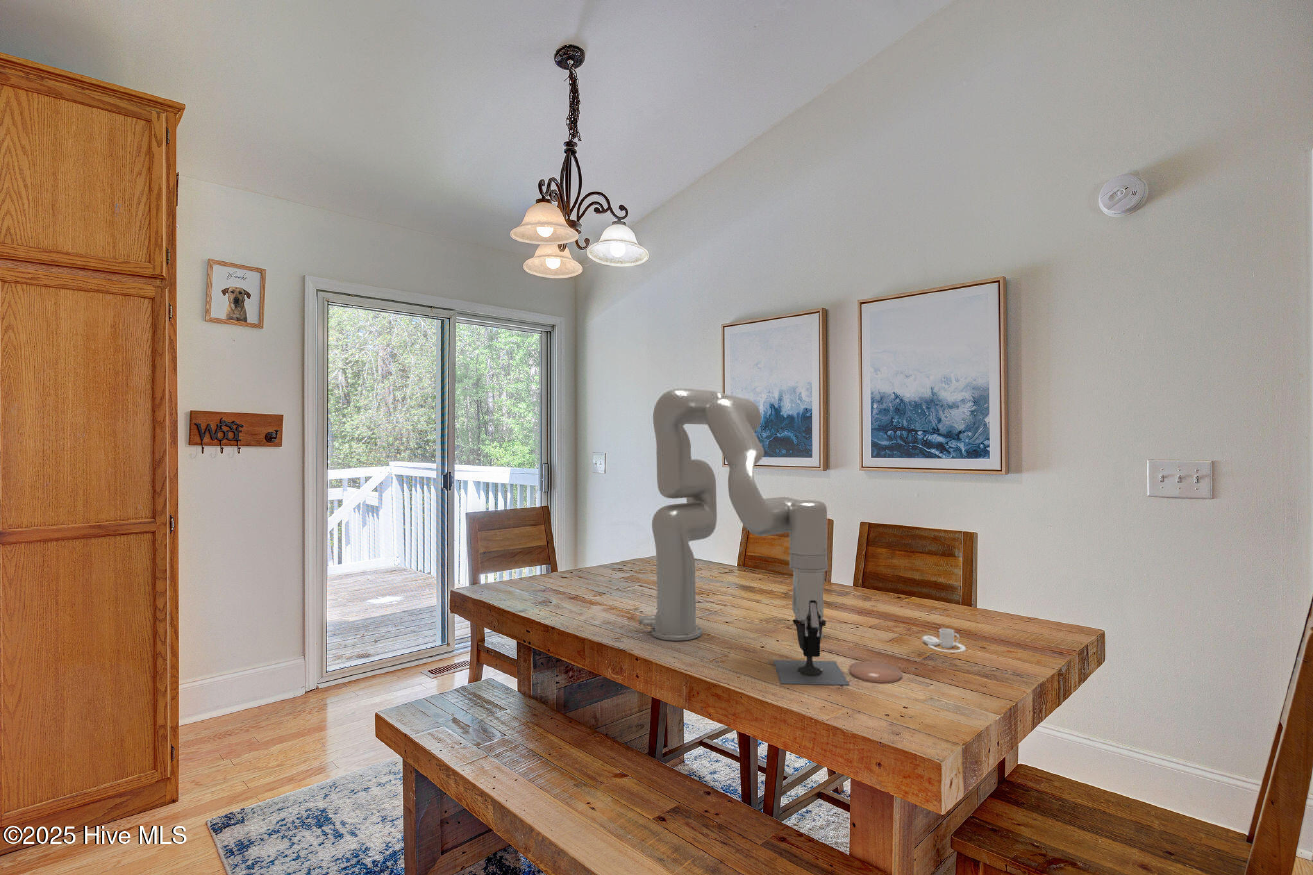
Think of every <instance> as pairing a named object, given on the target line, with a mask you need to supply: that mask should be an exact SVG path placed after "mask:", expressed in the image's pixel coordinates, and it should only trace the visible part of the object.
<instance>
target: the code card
mask: <svg viewBox="0 0 1313 875" xmlns="http://www.w3.org/2000/svg"><path fill="white" fill-rule="evenodd" d="M806 661H807V660H795V659H794V660H792V659H790V660H789V659H787V660H785V659H782V660H781V659H773V664H774V667H775V671H776V673H777V676H778V679H779V683H780V685H808V686H809V685H811V686H850V685H851V684H850V683H849V681H848V680H847V678H846V677H845V675H844V673H843V671H842V670H841V668H840V666H839V665H838V663H837V662H836V661H837V660H812V661H813V665H814V667H817V668H819V669H821V670H822V673H821V674H819V675H805V674H801V673H799V672H798V671H797V669H798V668H799V667H803V666H805V665H806Z"/></svg>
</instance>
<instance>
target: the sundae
mask: <svg viewBox="0 0 1313 875" xmlns="http://www.w3.org/2000/svg"><path fill="white" fill-rule="evenodd" d="M819 617H821V616H819ZM807 620H810V617H807ZM791 621H792V623H793V625H794V626H795V627H796V632H797V633H796V634H797V639H798V646H799V648H800V650H801V651H802V652H803V636H805V632H804V627H805V626H804V620H802V622H800V621H798V619H797V618H796V616H795V617H794V619H792V620H791ZM826 624H827V620H825V619H823V620H822V621H821V622H819V636H820V643H821V642H822V641H821V640H822V638H821V633H822V634H823V627H826ZM809 625H810V624H808V626H809ZM805 661H806V665H805V666H803V667H799V668H798V669H797V671H798V672H799V673H801V674H805V675H819V674H821V673H822V670H821V669H819V668H817V667H814V665H813V661H814V660H813V657H806V660H805Z"/></svg>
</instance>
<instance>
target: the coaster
mask: <svg viewBox="0 0 1313 875" xmlns="http://www.w3.org/2000/svg"><path fill="white" fill-rule="evenodd" d="M848 673H849V674H850V675H851V676H852V677H854V678H856V679H857V680H860V681H864V682H868V683H876V684H889V683H890V684H892V683H895V682H899V681H900V680H901V679H902V677H903V676H902V675H903V674H902V670H901V669H899V667H897V666H895V665H892V664H889V663H886V662H880V661H871V660H866V661H865V660H863V661H856V662H853V663H851V664H850V665H849V666H848Z"/></svg>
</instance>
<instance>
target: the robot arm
mask: <svg viewBox="0 0 1313 875" xmlns="http://www.w3.org/2000/svg"><path fill="white" fill-rule="evenodd" d="M654 405H655V406H654V409H653V415H652V421H653V422H652V423H653V429H654V430H653V431H654V435H655V442H656V483H657V488H658V491H659V493H660V495H661V496H663V497H664V498H665V499H666V498H667V499H675V500H676V499H685V498H686V499H685V501H686V502H685V503H684V502H681V503H674V504H667V505H664V506H662V507H660V508H659V509H657V510H656V512H655V513H654V515H653V517H652V521H651V529H652V534H653V539H654V546H655V559H656V612H655V614H651V615H650V616H649V615H638V616H639V617H638V623H639V625H642V626H645V627H648V626H651V628H650V634H651V636H652V637H654V638H656V639H659V640H663V641H674V642H675V641H676V642H678V641H690V640H693V639H696V638H699V637H701V635H703V628H702V627H701V626H700V625H699V624H697V619H696V618H697V617H696V616H697V615H696V613H697V610H696V608H697V607H696V606H697V604H696V603H697V602H696V596H697V595H696V591H697V590H696V559H695V555H694V552H693V550H692V548H691V546H690V543H689V542H693V541H700V540H704V539H707V538H708V537H710V536H711V535H712V534H713V533H714V532H715V530H716V527H717V522H718V521H717V520H718V514H717V513H718V512H717V511H718V510H717V508H718V507H717V506H718V505H717V504H718V503H717V482H716V481H717V480H716V475H715V472H714V469H713V468H712V467H711V465H710V464H709V463H708V462H706V461H704V460H702V459H697V458H694V459H692V450H691V449H692V445H691V444H692V443H691V440H690V437H689V436H690V435H689V434H688V432H687V430H686V429H685V427H684V426H685V425H707V426H708V428H709V431H710V432H711V435H712V436H713V438H714V440H715V442H716V444H717V445H718V447H719V450H720V451H721V453H722V455H723V457H724V459H725V461H726V464H727V465H728V467H729V468H728V469H729V470H728V471H729V472H728V479H727V486H728V487H727V488H728V490H727V491H728V496H729V500H730V503H731V504H732V507H733V509H734V510H735V513H736V514H737V517H738V519H739V520H740V522H741V523H742V525H743V526H744V528H745V529H746V530H747V531H748V532H749V533H751V534H752V535H755V536H757V537H758V536H759V537H763V536H764V537H765V536H769V535H770V536H771V535H776V534H783V533H784V534H785V533H789V534H788V535H789V538H788V540H789V548H788V549H789V569H790V570H792V571H793V573H792V574H793V576H792V601H791V602H792V613H793V614H794V616H795V617H796V618H797V619H798V621H800V622H802V620H804V626H805V627H804V632H805V636H803V651H802V653H803V656H804V657H806V658H807V657H812V658H813V657H814V658H818V657H819V658H820V655H821V642H820V636H819V622H821V621H822V620H824V586H823V576H822V572H823V571H825V572H826V571H828V570H829V569H828V568H829V567H828V565H829V564H828V563H829V562H828V509H827V505H826V504H825V503H824V502H823V501H821V500H814V499H813V500H811V499H810V500H809V499H808V500H807V499H805V500H804V499H803V500H800V499H798V498H797V499H796V498H793V497H788V496H787V497H786V496H779V497H778V496H777V497H768V498H764V497H763V495H762V493H761V492H760V490H759V488H758V486H757V482H756V481H755V478H754V468H755V466H756V465H757V464H758V463H759V462H760V461H761V460H762V459H763V457H764V456H765V450H764V447H763V446H762V444H761V442H760V440H759V437H757V435H756V433H755V432H756V431H757V430H758V429H759V427H760V425H761V422H762V414H761V410H760V408H759V406H758V405H757V404H756V403H755V402H753V401H752V400H751V399H749V398H744V397H739V396H735V395H732V394H728V393H723V392H720V391H715V390H707V389H696V388H695V389H694V388H674V389H669V390H668V391H666V392H664V393H663V394H662V395H661V396H660V397H658V399H657V400H656V403H655V404H654ZM819 616H821V617H819ZM807 617H810V620H807ZM808 624H810V625H809V626H808Z"/></svg>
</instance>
